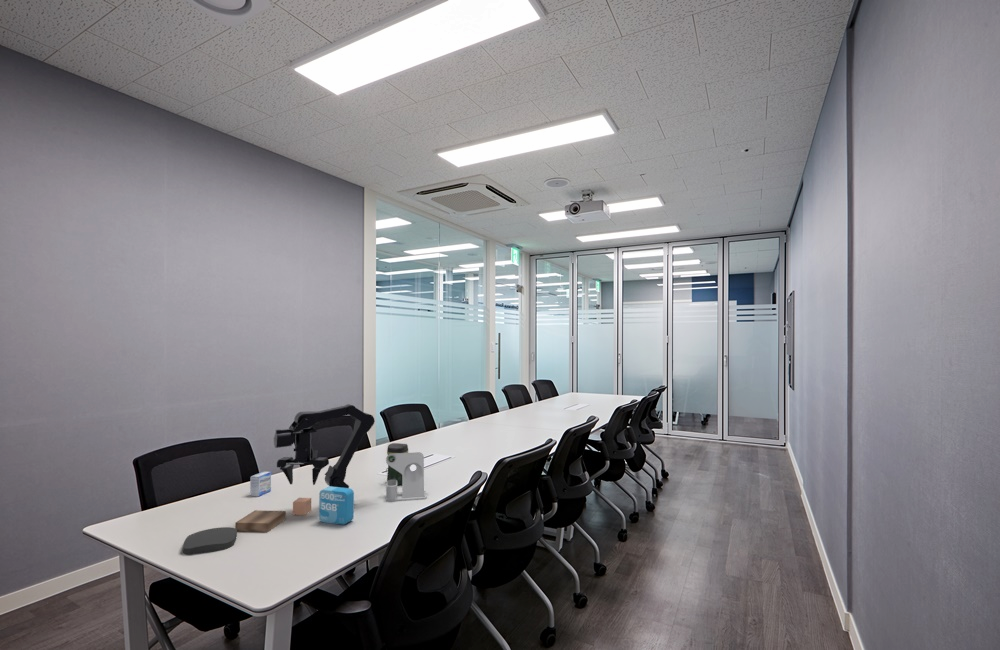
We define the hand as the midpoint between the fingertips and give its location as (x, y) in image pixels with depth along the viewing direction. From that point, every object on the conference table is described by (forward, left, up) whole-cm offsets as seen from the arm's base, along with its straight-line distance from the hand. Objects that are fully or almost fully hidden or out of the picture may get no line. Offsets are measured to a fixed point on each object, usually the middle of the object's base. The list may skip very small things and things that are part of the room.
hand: (302, 484), depth 184 cm
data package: (-17, +8, -11) cm, 22 cm away
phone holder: (-36, -21, -11) cm, 43 cm away
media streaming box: (+17, +29, -12) cm, 36 cm away
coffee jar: (-27, -40, -11) cm, 49 cm away
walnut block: (+9, +13, -11) cm, 19 cm away
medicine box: (+29, -21, -11) cm, 38 cm away
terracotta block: (0, 0, -11) cm, 11 cm away
